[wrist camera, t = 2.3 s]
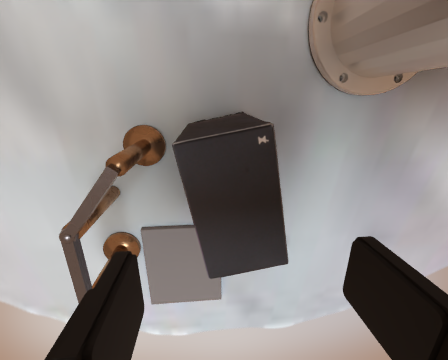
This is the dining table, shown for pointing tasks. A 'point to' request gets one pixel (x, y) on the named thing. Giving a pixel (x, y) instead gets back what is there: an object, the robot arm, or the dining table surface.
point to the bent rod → (108, 204)
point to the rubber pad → (177, 266)
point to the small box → (233, 193)
